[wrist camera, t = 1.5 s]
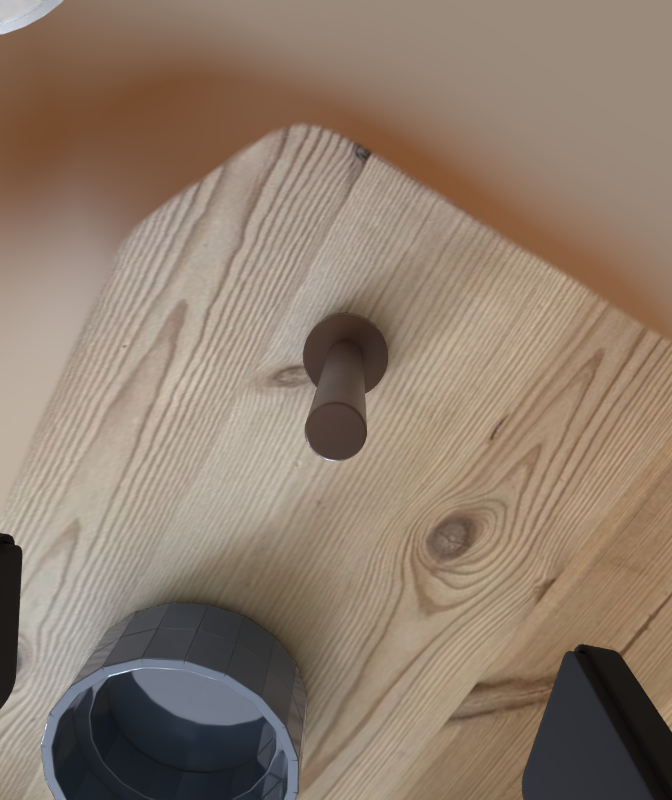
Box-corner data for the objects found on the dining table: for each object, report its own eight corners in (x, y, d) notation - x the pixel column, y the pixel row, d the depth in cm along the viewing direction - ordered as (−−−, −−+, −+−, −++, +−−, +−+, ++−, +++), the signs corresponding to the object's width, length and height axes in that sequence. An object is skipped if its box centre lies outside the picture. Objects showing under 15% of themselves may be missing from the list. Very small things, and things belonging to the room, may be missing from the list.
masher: (288, 343, 32) (231, 412, 18) (356, 296, 32) (356, 327, 17) (335, 408, 33) (317, 527, 18) (402, 364, 32) (439, 452, 18)
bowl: (44, 664, 39) (-12, 736, 33) (218, 555, 36) (191, 612, 30) (180, 812, 41) (151, 902, 36) (350, 721, 39) (349, 802, 33)
